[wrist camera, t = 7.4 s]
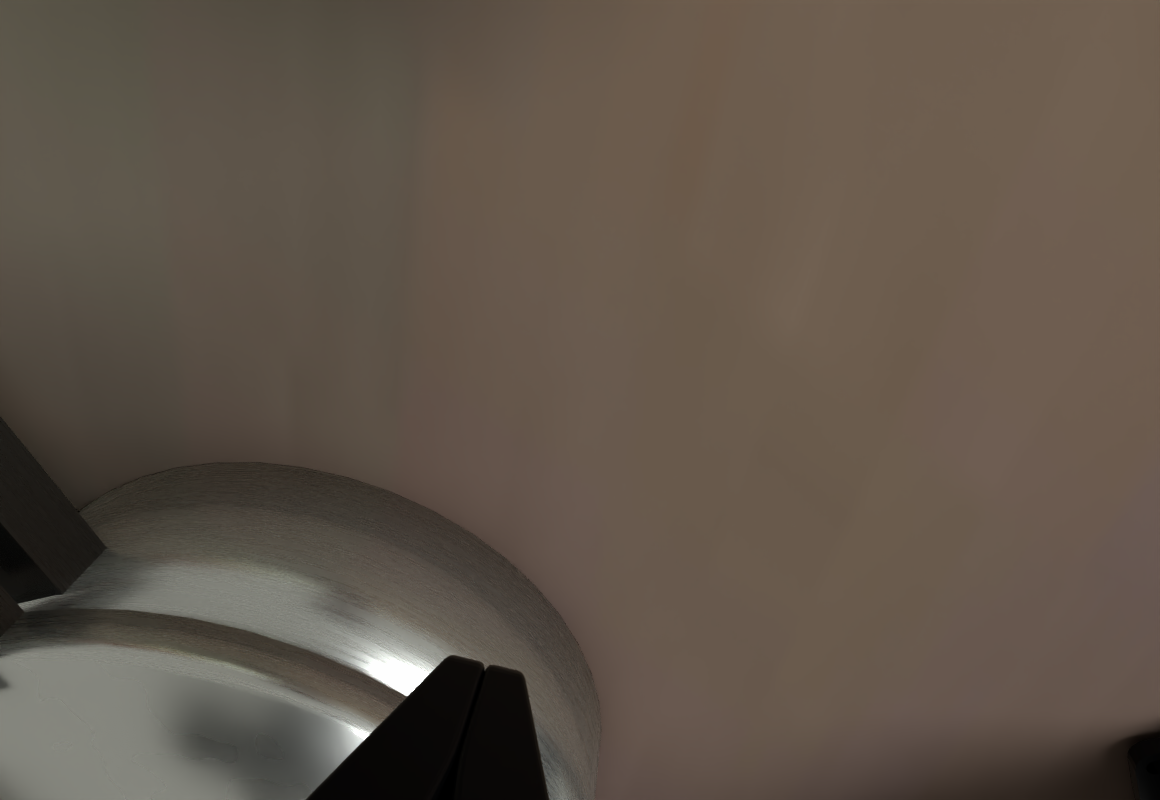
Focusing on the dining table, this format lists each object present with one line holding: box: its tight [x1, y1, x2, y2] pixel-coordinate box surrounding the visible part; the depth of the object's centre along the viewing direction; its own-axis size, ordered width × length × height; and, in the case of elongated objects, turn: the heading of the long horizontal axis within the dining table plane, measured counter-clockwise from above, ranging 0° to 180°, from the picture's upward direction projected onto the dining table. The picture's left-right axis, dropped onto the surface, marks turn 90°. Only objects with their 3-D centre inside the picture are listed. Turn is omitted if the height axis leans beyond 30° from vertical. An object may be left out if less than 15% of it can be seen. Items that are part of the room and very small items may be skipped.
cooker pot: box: [0, 417, 602, 800], centre depth 20 cm, size 22×16×5 cm
